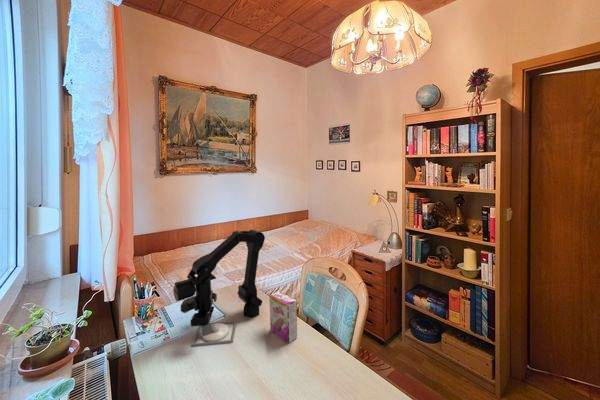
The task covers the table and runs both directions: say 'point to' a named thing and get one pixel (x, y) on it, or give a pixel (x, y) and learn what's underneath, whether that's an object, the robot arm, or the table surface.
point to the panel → (215, 341)
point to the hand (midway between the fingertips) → (206, 327)
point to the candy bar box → (283, 316)
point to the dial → (214, 332)
